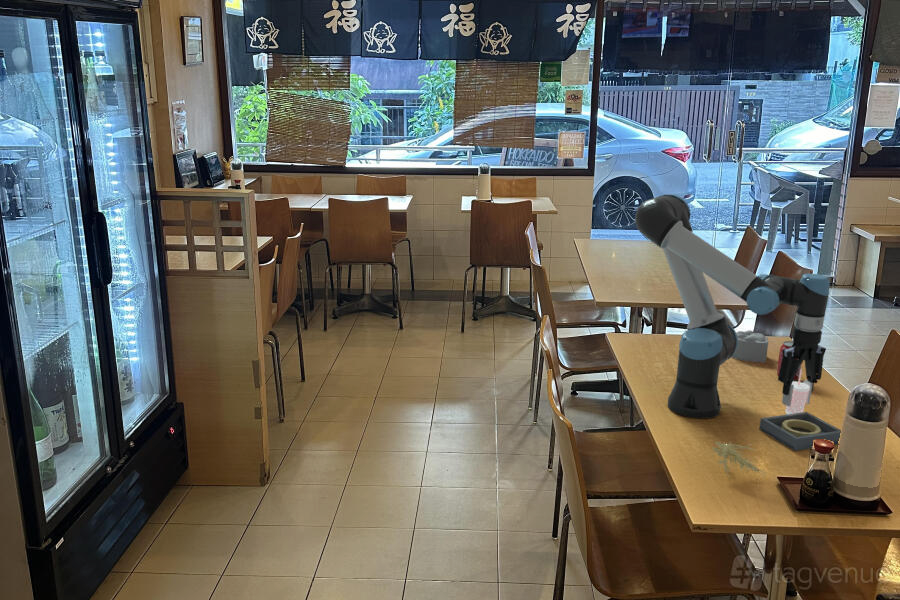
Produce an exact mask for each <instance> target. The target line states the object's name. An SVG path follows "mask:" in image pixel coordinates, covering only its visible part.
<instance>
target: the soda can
mask: <svg viewBox="0 0 900 600" xmlns="http://www.w3.org/2000/svg"><path fill="white" fill-rule="evenodd" d="M792 345H793V340H792V341H791V340H788V341H787V340H786V341H784V342H782V345H781V346H780V348H779V353H778V360H777V361H778V362H777V368H776V375H777V377H779V373H780V368H781V363H782V359H783V349H790V348H791V347H792ZM796 359H797V358H796ZM797 360H799V359H797ZM800 369H802V364H800V366H799V368H798V370H797V373H796V375H795V377H794V380H793V381H796V380H799V374H800ZM788 380H789V379H788Z"/></svg>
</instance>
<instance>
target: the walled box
mask: <svg viewBox="0 0 900 600" xmlns="http://www.w3.org/2000/svg"><path fill="white" fill-rule="evenodd" d="M759 421H760V422H759V428H758V429H759V431H761V432H762V433H764V434H766V435H767V436H769V437H771V438H772V439H774V440H775V441H777V442H779V443H781V444H782V445H784V446H786V447H787V448H789V449H790V450H792V451H793V452H798V451H804V450H811V449H813V448H812V446H813V440H814V439H826V440H830V441H833V442H834V444H835V446H836V444H837V445H839V444H838V441H839V438H840V433H841V429H839V428H838V427H836V426H834V425H832V424H830V423H829V422H826V421H825V420H822V419H821V418H819V417H817V416H815V415H814V414H812V413H811V412H810V413H809V412H808V411H803V412H802V413H794V414H781V415H775V416H767V417H761V418H760V420H759ZM810 448H811V449H810Z"/></svg>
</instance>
